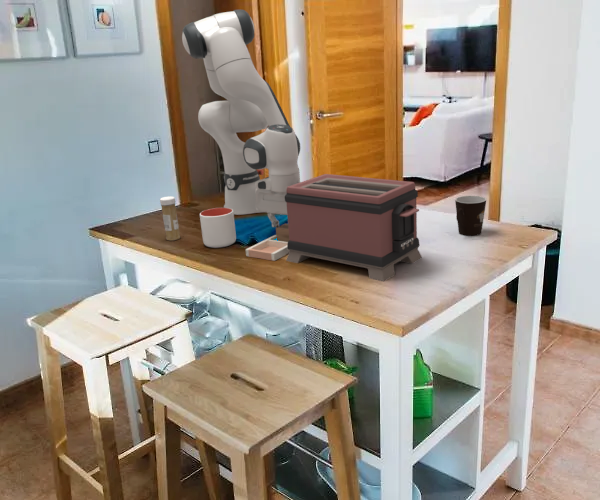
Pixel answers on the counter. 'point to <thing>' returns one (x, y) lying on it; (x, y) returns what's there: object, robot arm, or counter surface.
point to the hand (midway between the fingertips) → (288, 228)
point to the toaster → (353, 222)
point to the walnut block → (282, 233)
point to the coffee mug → (470, 214)
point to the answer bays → (268, 249)
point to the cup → (218, 227)
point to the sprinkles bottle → (170, 218)
